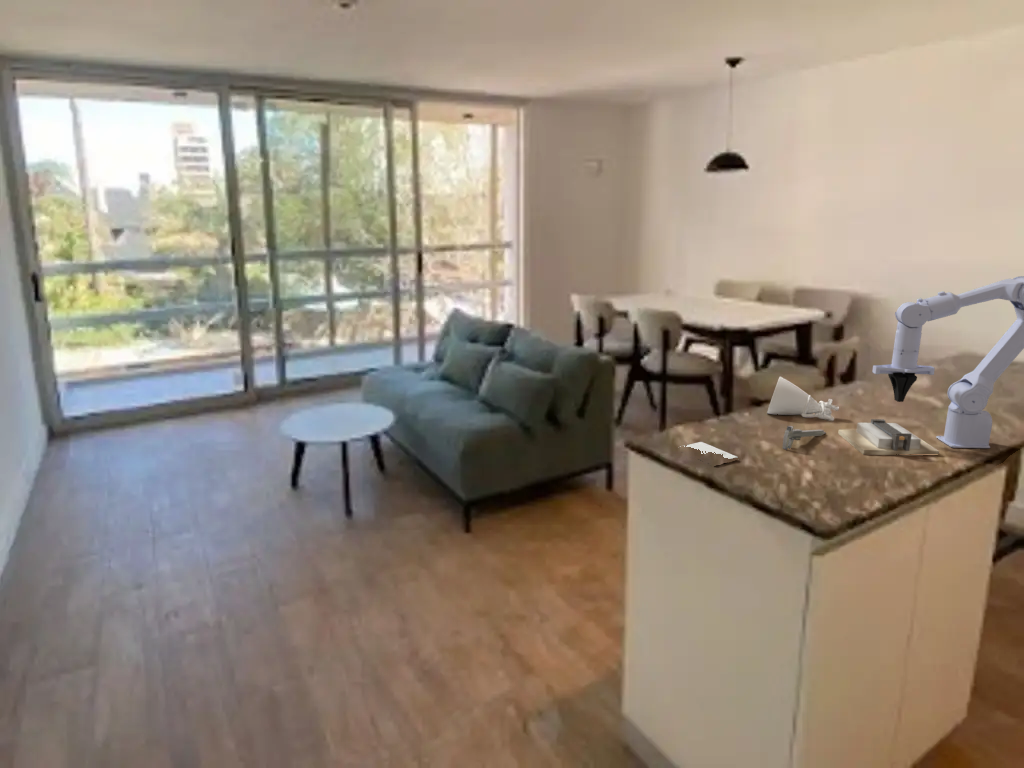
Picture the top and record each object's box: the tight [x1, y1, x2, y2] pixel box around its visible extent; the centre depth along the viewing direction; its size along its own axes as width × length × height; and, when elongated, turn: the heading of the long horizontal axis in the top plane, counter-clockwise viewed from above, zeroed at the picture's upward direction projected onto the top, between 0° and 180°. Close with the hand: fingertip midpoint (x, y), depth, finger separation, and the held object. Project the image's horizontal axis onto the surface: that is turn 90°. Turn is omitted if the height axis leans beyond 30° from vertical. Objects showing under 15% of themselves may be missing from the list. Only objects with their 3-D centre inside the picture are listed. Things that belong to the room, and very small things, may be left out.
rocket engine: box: [766, 376, 840, 422], centre depth 202 cm, size 12×12×18 cm
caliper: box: [782, 425, 826, 451], centre depth 181 cm, size 20×1×6 cm, turn 130°
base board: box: [837, 418, 940, 456], centre depth 178 cm, size 18×16×6 cm
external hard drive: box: [679, 441, 739, 459], centre depth 172 cm, size 2×8×12 cm
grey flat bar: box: [873, 421, 905, 440], centre depth 177 cm, size 3×13×1 cm, turn 176°
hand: (898, 400), depth 181 cm, fingers closed
